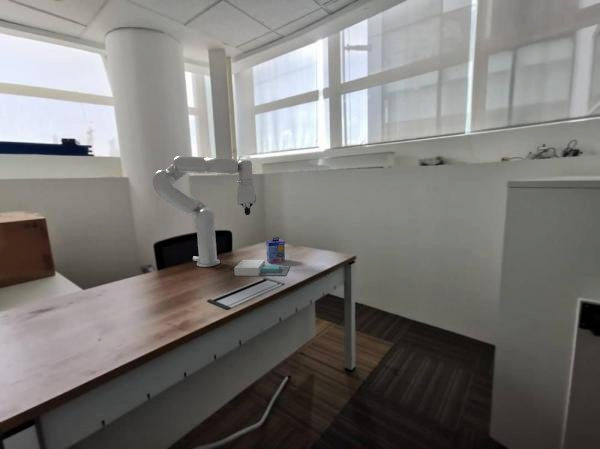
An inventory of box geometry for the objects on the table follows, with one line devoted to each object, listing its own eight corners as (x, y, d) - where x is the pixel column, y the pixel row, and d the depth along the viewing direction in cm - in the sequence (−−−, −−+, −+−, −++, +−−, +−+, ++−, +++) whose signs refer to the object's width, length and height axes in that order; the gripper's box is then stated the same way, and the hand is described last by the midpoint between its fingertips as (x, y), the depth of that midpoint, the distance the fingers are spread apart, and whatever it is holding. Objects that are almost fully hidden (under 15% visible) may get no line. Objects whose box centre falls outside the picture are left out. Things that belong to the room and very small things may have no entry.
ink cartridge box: (269, 263, 156) (268, 238, 154) (266, 261, 161) (265, 236, 158) (285, 261, 160) (284, 236, 158) (282, 259, 165) (281, 235, 163)
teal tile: (260, 272, 140) (260, 268, 140) (263, 268, 146) (263, 264, 146) (278, 272, 139) (277, 268, 139) (280, 268, 145) (280, 265, 145)
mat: (259, 275, 136) (259, 274, 136) (265, 267, 150) (265, 266, 150) (285, 276, 135) (285, 275, 135) (289, 267, 148) (289, 266, 148)
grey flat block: (234, 275, 137) (234, 267, 137) (243, 266, 151) (242, 259, 150) (258, 275, 136) (258, 267, 135) (264, 267, 150) (264, 259, 149)
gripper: (230, 183, 154) (232, 215, 157) (257, 182, 153) (258, 215, 155) (235, 182, 161) (237, 214, 164) (260, 182, 160) (261, 213, 163)
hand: (247, 214), depth 160 cm, fingers closed
